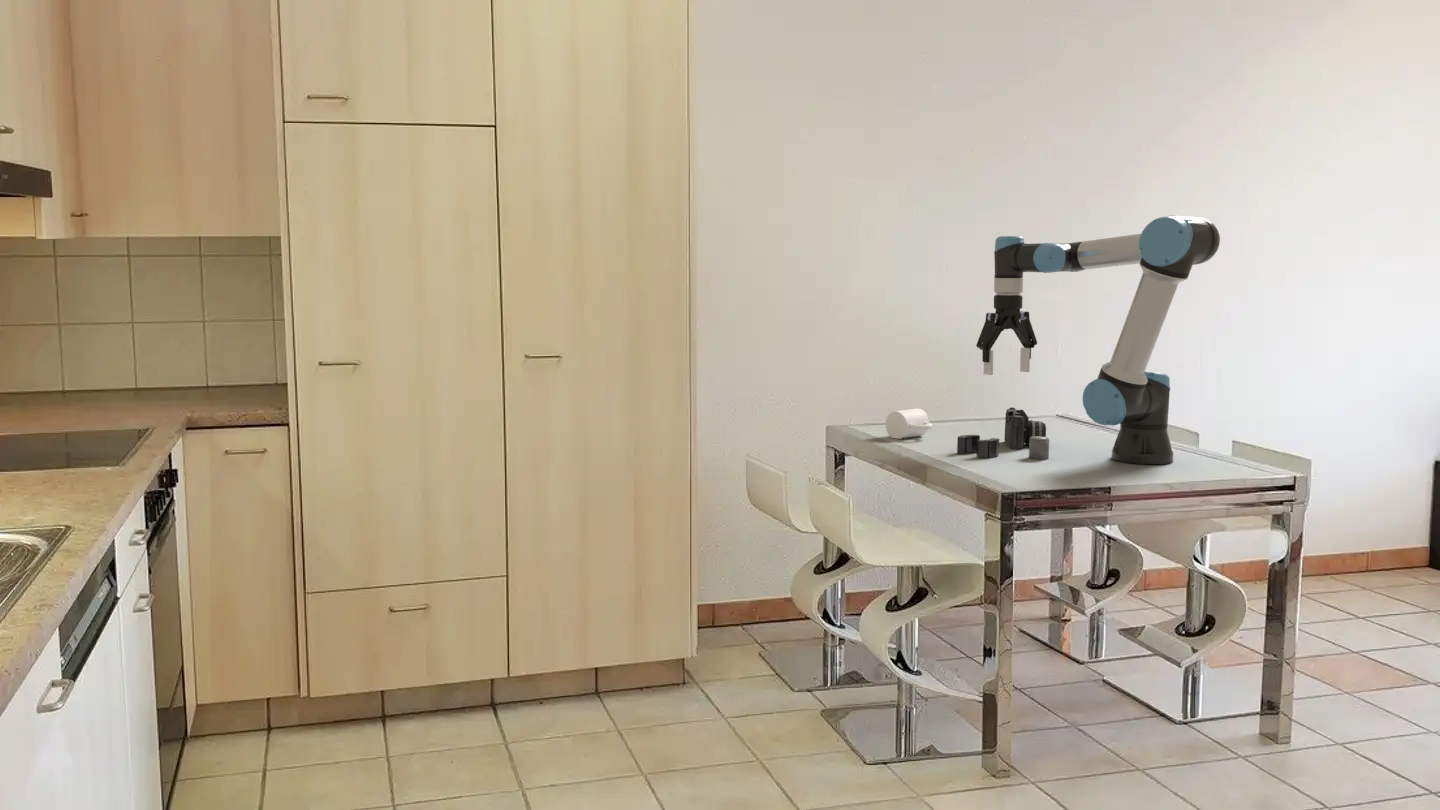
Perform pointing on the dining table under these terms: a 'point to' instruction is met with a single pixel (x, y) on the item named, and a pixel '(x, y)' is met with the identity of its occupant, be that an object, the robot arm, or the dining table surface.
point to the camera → (1021, 429)
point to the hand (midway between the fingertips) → (1006, 373)
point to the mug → (907, 423)
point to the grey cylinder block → (1039, 448)
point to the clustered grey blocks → (978, 446)
